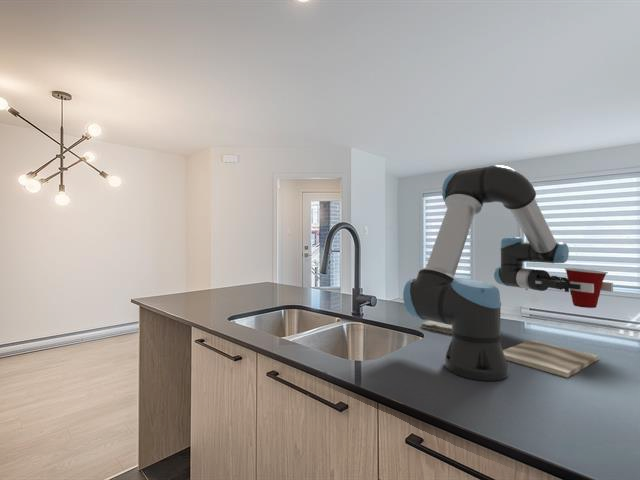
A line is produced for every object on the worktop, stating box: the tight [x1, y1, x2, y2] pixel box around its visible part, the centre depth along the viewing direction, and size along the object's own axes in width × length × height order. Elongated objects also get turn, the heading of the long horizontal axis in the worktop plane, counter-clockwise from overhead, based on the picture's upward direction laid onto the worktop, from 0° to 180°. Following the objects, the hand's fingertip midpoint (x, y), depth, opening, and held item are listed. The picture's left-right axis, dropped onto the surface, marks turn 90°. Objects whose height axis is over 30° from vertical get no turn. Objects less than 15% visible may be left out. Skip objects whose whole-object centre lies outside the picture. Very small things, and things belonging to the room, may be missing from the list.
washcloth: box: [420, 320, 452, 335], centre depth 128 cm, size 12×18×3 cm, turn 43°
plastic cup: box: [564, 267, 608, 309], centre depth 106 cm, size 11×11×12 cm
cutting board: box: [502, 339, 600, 378], centre depth 97 cm, size 22×18×1 cm
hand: (602, 287), depth 102 cm, fingers closed on plastic cup, 8 cm apart
